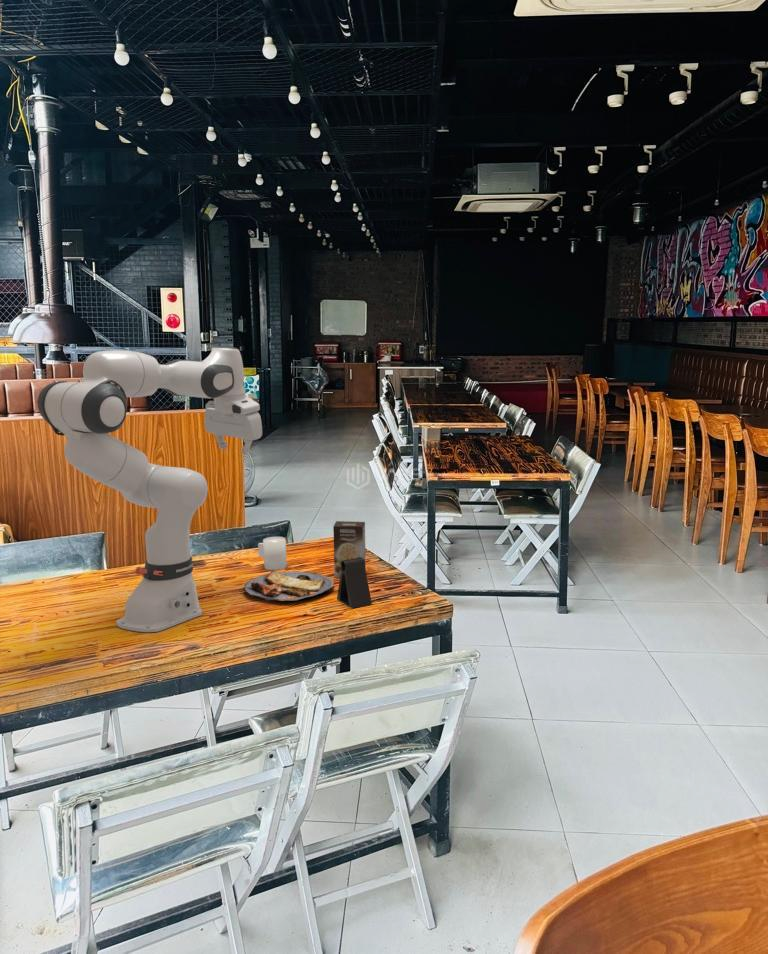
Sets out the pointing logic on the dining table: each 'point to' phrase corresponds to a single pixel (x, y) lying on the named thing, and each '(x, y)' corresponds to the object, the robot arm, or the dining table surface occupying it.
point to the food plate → (288, 585)
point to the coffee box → (348, 543)
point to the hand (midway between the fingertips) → (234, 451)
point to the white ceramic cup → (273, 553)
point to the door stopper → (354, 584)
